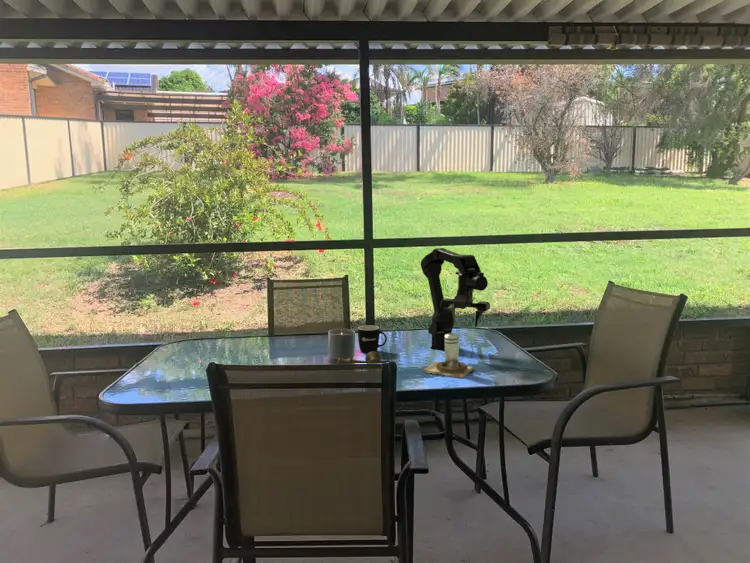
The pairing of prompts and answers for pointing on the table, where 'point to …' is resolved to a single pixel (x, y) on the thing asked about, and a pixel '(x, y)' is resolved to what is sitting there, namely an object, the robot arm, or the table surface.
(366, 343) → the mug
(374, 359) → the kendama
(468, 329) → the table surface
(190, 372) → the table surface
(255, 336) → the table surface
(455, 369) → the collar
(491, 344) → the table surface
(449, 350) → the cylinder
